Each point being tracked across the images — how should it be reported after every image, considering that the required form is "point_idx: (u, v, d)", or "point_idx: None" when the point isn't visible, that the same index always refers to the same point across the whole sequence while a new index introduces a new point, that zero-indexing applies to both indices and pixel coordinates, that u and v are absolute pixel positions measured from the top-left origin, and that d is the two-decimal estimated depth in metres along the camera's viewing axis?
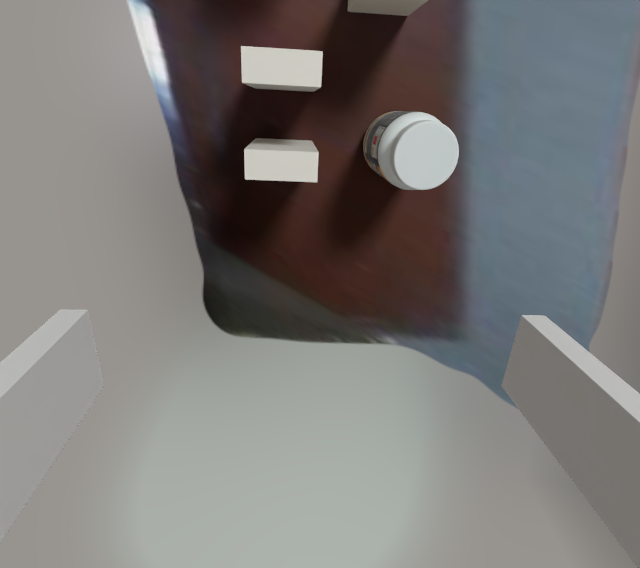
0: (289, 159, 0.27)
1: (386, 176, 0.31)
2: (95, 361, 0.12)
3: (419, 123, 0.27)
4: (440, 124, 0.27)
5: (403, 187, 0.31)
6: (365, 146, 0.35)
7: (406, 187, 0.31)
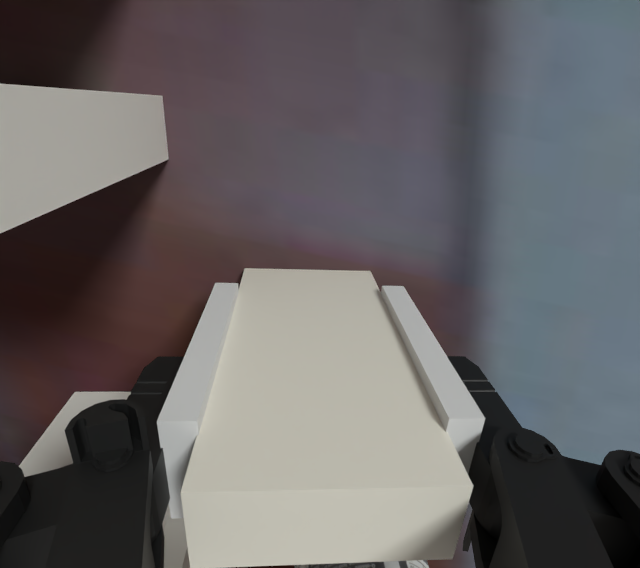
0: None
1: None
2: None
3: None
4: None
5: None
6: None
7: None
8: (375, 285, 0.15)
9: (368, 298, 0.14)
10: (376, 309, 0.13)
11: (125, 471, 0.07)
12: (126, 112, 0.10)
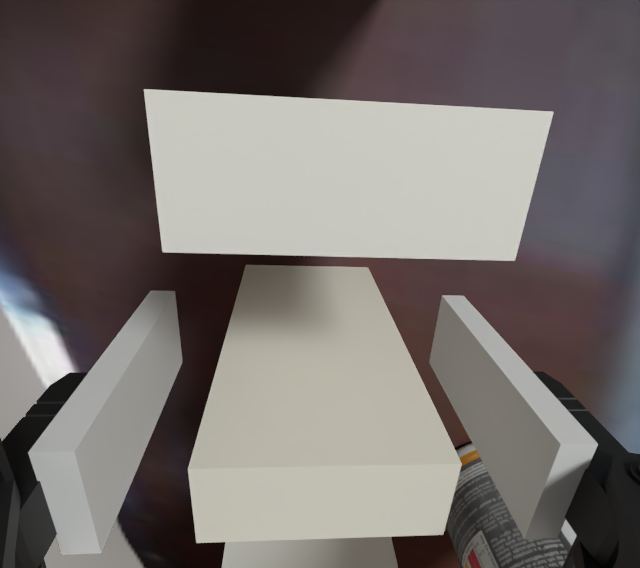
0: None
1: None
2: (178, 338, 0.13)
3: None
4: None
5: None
6: None
7: None
8: (372, 280, 0.15)
9: (365, 293, 0.14)
10: (373, 303, 0.14)
11: None
12: None
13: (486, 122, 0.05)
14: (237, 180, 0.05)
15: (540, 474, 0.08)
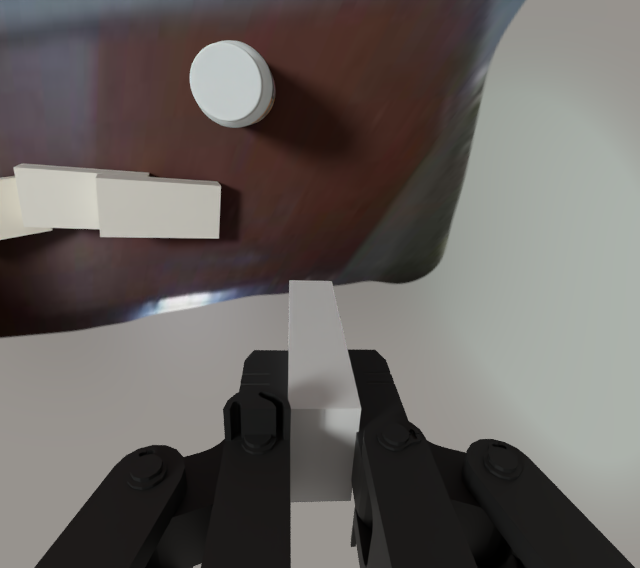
0: None
1: (258, 117, 0.29)
2: None
3: (193, 95, 0.26)
4: (191, 70, 0.26)
5: (268, 97, 0.29)
6: None
7: (267, 93, 0.29)
8: None
9: None
10: None
11: (270, 457, 0.07)
12: None
13: None
14: None
15: None
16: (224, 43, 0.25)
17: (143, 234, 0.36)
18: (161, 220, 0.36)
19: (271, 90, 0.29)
